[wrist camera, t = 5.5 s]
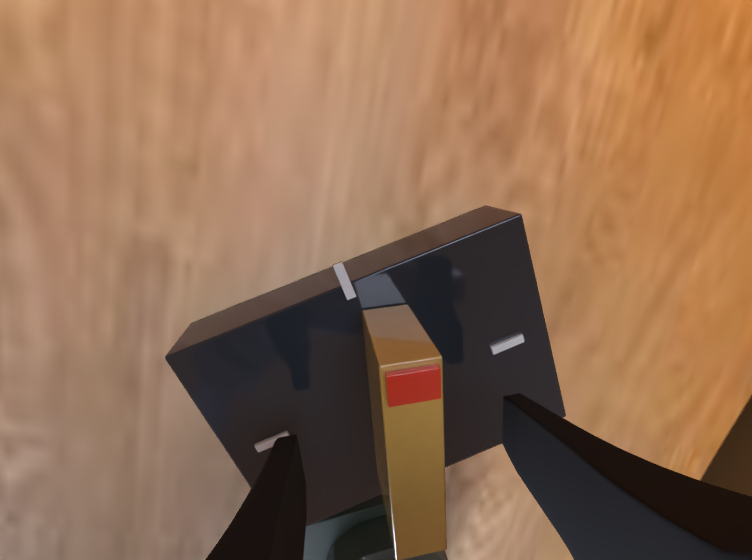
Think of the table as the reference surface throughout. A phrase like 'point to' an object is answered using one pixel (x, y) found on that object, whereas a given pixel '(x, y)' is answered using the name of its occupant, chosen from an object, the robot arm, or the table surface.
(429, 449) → the gold rectangular bar
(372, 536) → the button box
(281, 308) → the block
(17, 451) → the table surface
